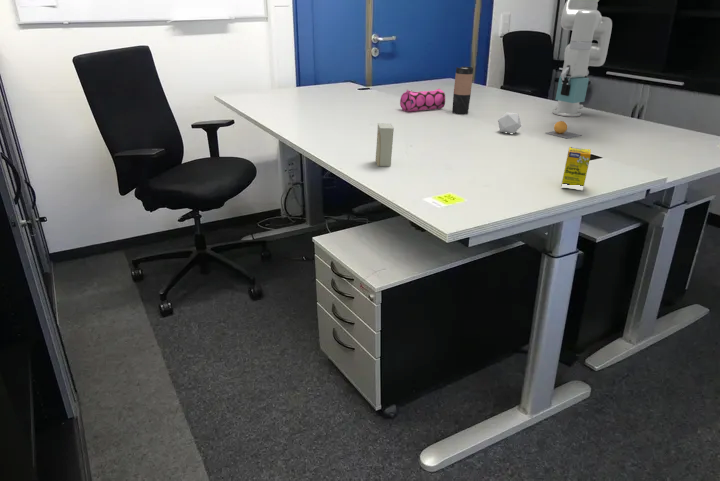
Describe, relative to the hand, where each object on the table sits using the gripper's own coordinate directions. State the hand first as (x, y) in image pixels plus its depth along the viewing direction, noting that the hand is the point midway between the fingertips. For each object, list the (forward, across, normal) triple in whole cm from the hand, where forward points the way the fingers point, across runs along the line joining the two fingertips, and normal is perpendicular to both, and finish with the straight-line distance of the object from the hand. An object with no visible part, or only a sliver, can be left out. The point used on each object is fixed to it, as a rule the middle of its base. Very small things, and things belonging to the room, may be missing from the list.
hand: (571, 94), depth 210 cm
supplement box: (+16, +55, +41) cm, 70 cm away
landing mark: (+16, 0, 0) cm, 16 cm away
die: (+16, +18, -13) cm, 27 cm away
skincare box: (+16, +88, -5) cm, 90 cm away
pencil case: (+16, +18, -63) cm, 68 cm away
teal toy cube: (+3, 0, 0) cm, 3 cm away
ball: (+13, 0, -2) cm, 13 cm away
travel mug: (+16, +7, -50) cm, 53 cm away
